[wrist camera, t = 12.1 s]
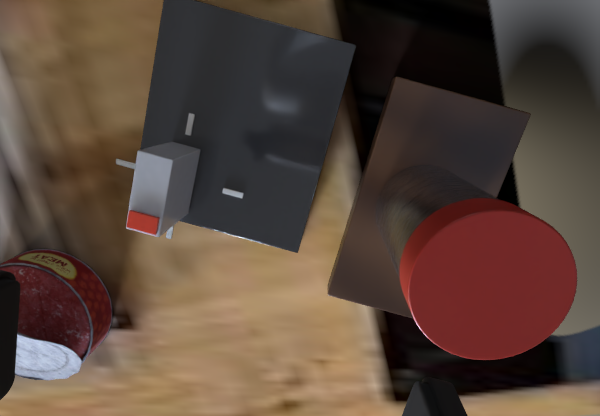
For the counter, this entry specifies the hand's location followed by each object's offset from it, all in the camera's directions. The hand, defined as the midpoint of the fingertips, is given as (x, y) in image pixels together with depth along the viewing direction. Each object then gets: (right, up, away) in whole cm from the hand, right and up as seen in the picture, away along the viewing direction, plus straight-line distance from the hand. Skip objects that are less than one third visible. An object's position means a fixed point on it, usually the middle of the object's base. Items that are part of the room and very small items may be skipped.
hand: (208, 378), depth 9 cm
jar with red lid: (+10, +4, +18) cm, 22 cm away
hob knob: (-6, +6, +18) cm, 20 cm away
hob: (-2, +9, +19) cm, 21 cm away
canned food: (-18, -4, +24) cm, 30 cm away
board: (+11, +4, +20) cm, 23 cm away
